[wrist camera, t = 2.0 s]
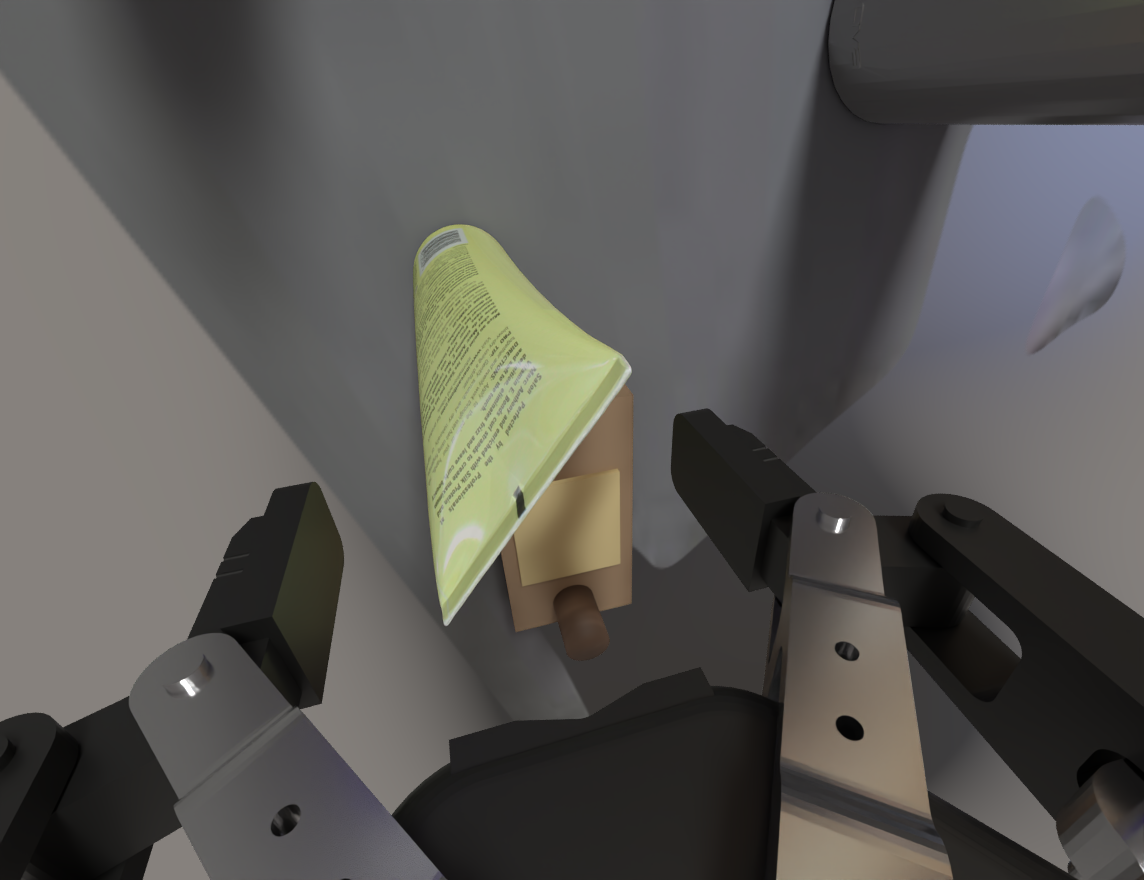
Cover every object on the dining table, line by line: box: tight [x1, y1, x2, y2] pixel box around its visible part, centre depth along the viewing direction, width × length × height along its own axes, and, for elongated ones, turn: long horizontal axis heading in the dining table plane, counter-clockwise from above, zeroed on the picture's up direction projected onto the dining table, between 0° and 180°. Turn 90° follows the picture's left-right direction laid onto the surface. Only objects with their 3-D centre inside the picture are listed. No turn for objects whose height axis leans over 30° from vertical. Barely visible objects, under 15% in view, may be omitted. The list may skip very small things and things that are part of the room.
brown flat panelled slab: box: [501, 384, 633, 661], centre depth 33 cm, size 9×18×7 cm, turn 4°
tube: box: [413, 225, 632, 626], centre depth 19 cm, size 6×5×20 cm
